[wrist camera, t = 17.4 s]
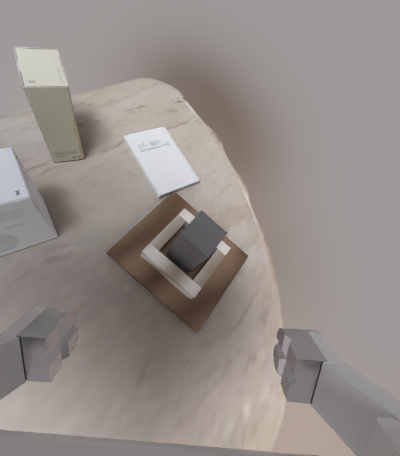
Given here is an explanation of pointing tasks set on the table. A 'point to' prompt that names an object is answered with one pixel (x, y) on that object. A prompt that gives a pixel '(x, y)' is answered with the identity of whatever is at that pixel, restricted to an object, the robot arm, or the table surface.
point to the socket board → (168, 271)
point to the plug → (196, 242)
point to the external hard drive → (161, 161)
